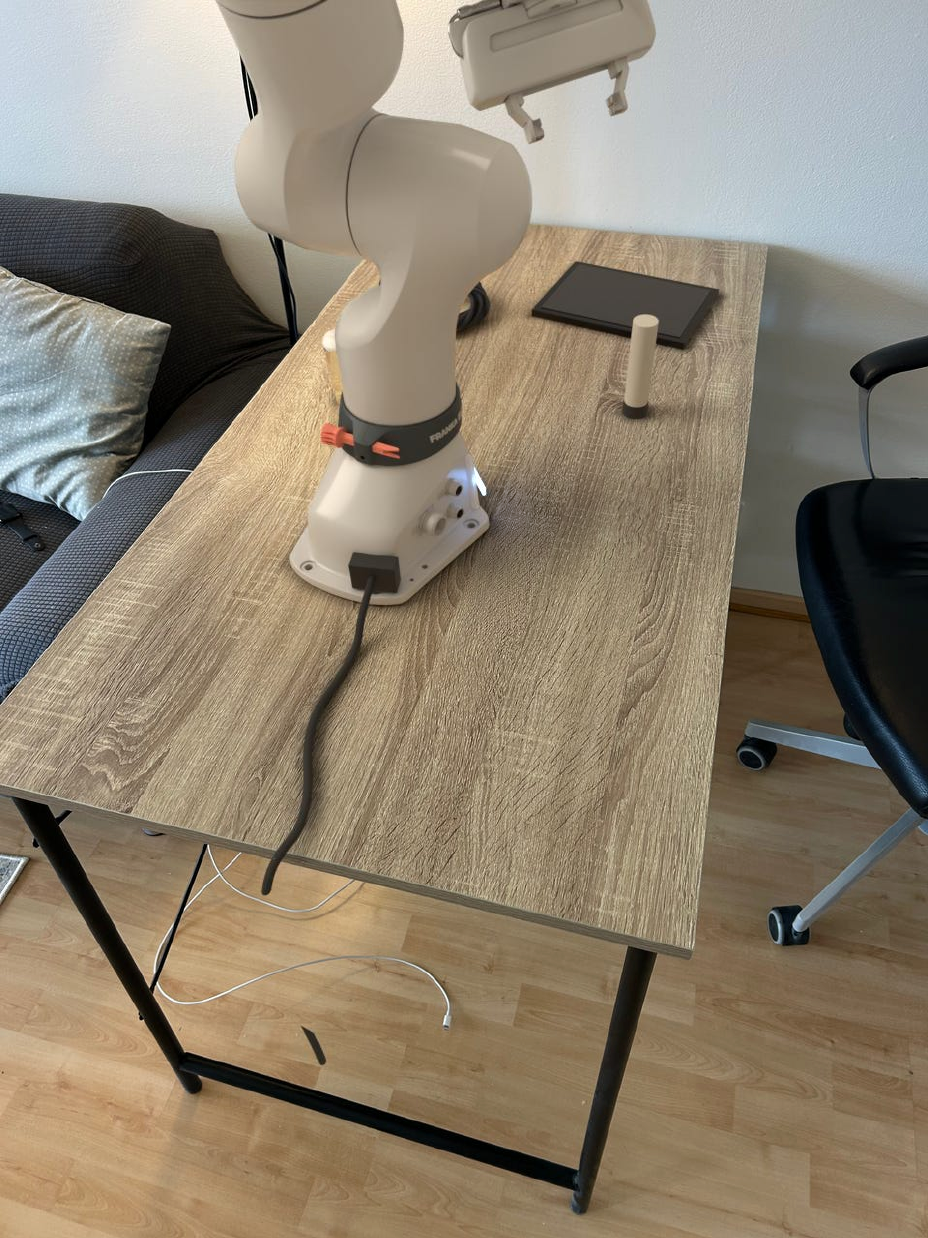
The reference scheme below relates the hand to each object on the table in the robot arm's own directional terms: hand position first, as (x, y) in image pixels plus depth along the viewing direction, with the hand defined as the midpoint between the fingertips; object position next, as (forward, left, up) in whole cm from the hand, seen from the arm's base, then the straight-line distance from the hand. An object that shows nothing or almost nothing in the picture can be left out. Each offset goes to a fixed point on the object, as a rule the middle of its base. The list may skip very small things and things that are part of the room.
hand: (578, 126), depth 94 cm
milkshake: (-16, +22, -29) cm, 40 cm away
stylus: (-4, -11, -29) cm, 32 cm away
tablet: (+20, -1, -29) cm, 35 cm away
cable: (+6, +23, -29) cm, 38 cm away
